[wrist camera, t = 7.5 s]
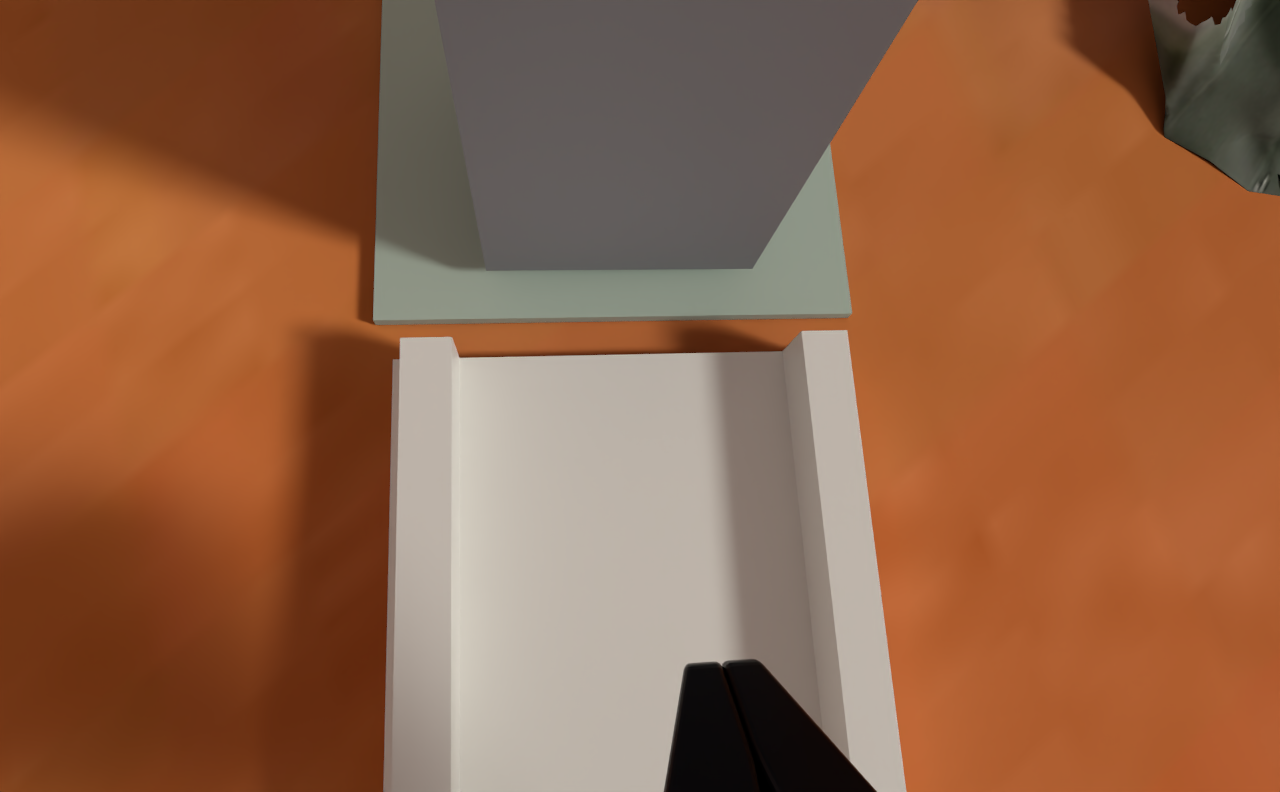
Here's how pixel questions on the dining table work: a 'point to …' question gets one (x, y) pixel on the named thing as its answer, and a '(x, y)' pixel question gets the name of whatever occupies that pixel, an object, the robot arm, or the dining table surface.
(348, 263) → the dining table surface
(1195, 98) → the rose bouquet
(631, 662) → the off-white chute
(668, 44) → the gray block
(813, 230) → the sage mat
